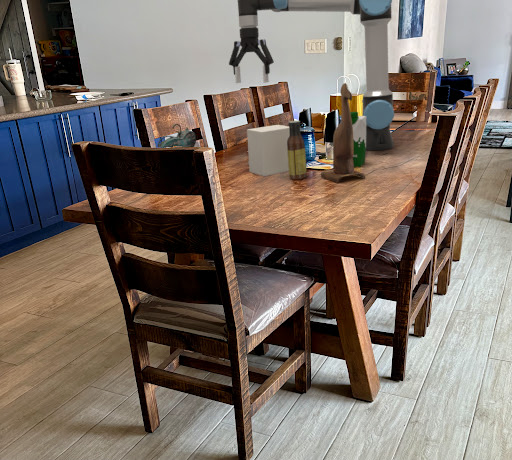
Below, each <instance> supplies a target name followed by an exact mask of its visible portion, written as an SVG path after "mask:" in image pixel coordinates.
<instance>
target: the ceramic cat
mask: <svg viewBox="0 0 512 460" xmlns="http://www.w3.org/2000/svg"><path fill="white" fill-rule="evenodd" d="M176 126H178V127H179V129H180V130H175V132H176V133H177V134H176V136H173V135H164V136H163V137H161V138H160V139H159V140H158V143H157V147H162V148H164V147H173V146H182V147H194V148H195V145H196V142H197V136H196V133H195V132H194V131H192V130H190V129H189V128H188V127H187V126H185V129H184V130H182V127H181V125H180V124H178V123H175V124H173V126H172V129H173V130H174V129H175V127H176ZM165 138H166V139H165Z"/></svg>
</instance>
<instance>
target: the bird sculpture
mask: <svg viewBox="0 0 512 460" xmlns="http://www.w3.org/2000/svg"><path fill="white" fill-rule="evenodd" d="M340 100H341V118H340V119H341V120H340V122H339V124H338V125H337V126H336V128H335V129H334V132H333V136H332V137H333V139H332V165H333V166H332V167H333V168H332V169H327V170H322V171H321V172H320V177H321V178H323V179H324V180H328V181H330V182H333V183H336V184H338V183H339V182H340V180H341V179H342V178H344V177H347V176H348V177H349V176H356V177H360V178H362V179H366V175H365V173H364V172H360V171H357V170H355V167H354V163H353V154H354V151H353V146H354V145H353V126H352V120H351V113H350V112H351V108H350V104H349V101H350V102H351V101H352V100H353V94H352V92H351V91H350V89H349V87H348V84H347V83H346V82H344V83H343V84H342V85H341V87H340ZM348 100H349V101H348Z"/></svg>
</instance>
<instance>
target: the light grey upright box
mask: <svg viewBox="0 0 512 460" xmlns="http://www.w3.org/2000/svg"><path fill="white" fill-rule="evenodd" d="M289 133H290V131H289V125H288V126H287V125H282V124H275V125H274V124H273V125H268V126H261V127H254V128H248V129H246V136H247V151H248V154H247V155H248V161H247V165H248V166H249V173H253V174H255V175H258V176H262V177H268V176H271V175H272V176H273V175H277V174H282V173H286V172H289V167H288V153H287V140H288V138H289V136H290V134H289Z"/></svg>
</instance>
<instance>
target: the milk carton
mask: <svg viewBox="0 0 512 460" xmlns="http://www.w3.org/2000/svg"><path fill="white" fill-rule="evenodd" d="M350 113H351V120H352V126H353V145H354V146H353V151H354V154H353V163H354V168H361V167H362V166H363V165H365V164H366V163H365V162H366V152H367V150H366V116H362V115H361V116H360V115H359V112H358V111H350Z"/></svg>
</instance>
